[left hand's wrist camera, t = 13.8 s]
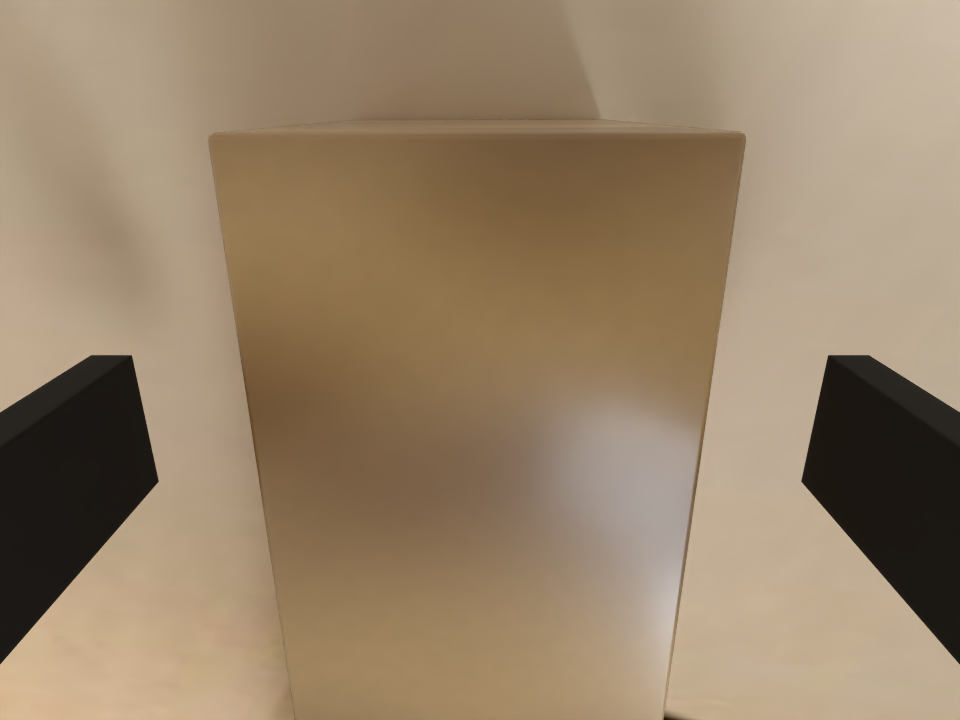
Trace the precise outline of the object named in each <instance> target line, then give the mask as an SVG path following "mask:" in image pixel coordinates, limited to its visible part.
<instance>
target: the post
mask: <svg viewBox="0 0 960 720" xmlns="http://www.w3.org/2000/svg"><path fill="white" fill-rule="evenodd" d="M208 143H209V149H210V156H211V163H212V169H213V176H214V183H215V189H216V196H217V203H218V209H219V216H220V223H221V229H222V236H223V243H224V249H225V256H226V263H227V269H228V276H229V283H230V289H231V296H232V303H233V309H234V316H235V323H236V329H237V336H238V343H239V349H240V356H241V362H242V369H243V376H244V382H245V389H246V396H247V402H248V409H249V416H250V422H251V429H252V436H253V442H254V449H255V456H256V462H257V469H258V476H259V482H260V489H261V496H262V502H263V509H264V516H265V522H266V529H267V536H268V542H269V549H270V556H271V562H272V569H273V576H274V582H275V589H276V596H277V602H278V609H279V616H280V622H281V629H282V636H283V642H284V649H285V656H286V662H287V669H288V676H289V682H290V689H291V696H292V702H293V709H294V716H295V720H663V718H664V711H665V704H666V697H667V690H668V683H669V676H670V669H671V662H672V655H673V648H674V641H675V634H676V627H677V620H678V613H679V606H680V599H681V592H682V585H683V578H684V571H685V564H686V557H687V550H688V543H689V536H690V529H691V522H692V515H693V508H694V501H695V494H696V487H697V480H698V473H699V466H700V459H701V451H702V444H703V437H704V430H705V423H706V416H707V409H708V402H709V395H710V388H711V381H712V374H713V367H714V360H715V353H716V346H717V339H718V332H719V325H720V318H721V311H722V304H723V297H724V290H725V283H726V276H727V269H728V262H729V255H730V248H731V241H732V234H733V227H734V220H735V213H736V206H737V199H738V192H739V185H740V178H741V171H742V164H743V157H744V150H745V143H746V137H745V134H744V133H742V132H739V131H727V130H715V129H704V128H692V127H681V126H669V125H658V124H646V123H635V122H623V121H611V120H350V121H339V122H328V123H317V124H307V125H296V126H285V127H274V128H263V129H252V130H241V131H230V132H219V133H213V134H211V135H210V136H209V140H208Z"/></svg>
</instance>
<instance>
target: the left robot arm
mask: <svg viewBox="0 0 960 720" xmlns="http://www.w3.org/2000/svg"><path fill="white" fill-rule="evenodd" d="M158 482H159V481H158V476H157V472H156V467H155V462H154V457H153V453H152V448H151V443H150V439H149V434H148V429H147V425H146V420H145V415H144V410H143V406H142V401H141V396H140V392H139V387H138V382H137V378H136V373H135V368H134V364H133V359H132V355H91V356H89V357H88V358H86V359H85V360H83V361H81V362H80V363H78V364H77V365H75V366H73V367H72V368H70V369H69V370H67V371H65V372H64V373H62V374H61V375H59V376H58V377H56V378H54V379H53V380H51V381H50V382H48V383H46V384H45V385H43V386H42V387H40V388H38V389H37V390H35V391H34V392H32V393H30V394H29V395H27V396H26V397H24V398H23V399H21V400H19V401H18V402H16V403H15V404H13V405H11V406H10V407H8V408H7V409H5V410H3V411H2V412H0V664H1V663H2V662H3V661H4V659H5V658H6V657H7V656H8V655H9V654H10V652H11V651H12V650H13V649H14V648H15V647H16V646H17V644H18V643H19V642H20V641H21V640H22V639H23V637H24V636H25V635H26V634H27V633H28V632H29V631H30V629H31V628H32V627H33V626H34V625H35V624H36V622H37V621H38V620H39V619H40V618H41V617H42V616H43V614H44V613H45V612H46V611H47V610H48V609H49V607H50V606H51V605H52V604H53V603H54V602H55V601H56V599H57V598H58V597H59V596H60V595H61V594H62V592H63V591H64V590H65V589H66V588H67V587H68V586H69V584H70V583H71V582H72V581H73V580H74V579H75V577H76V576H77V575H78V574H79V573H80V572H81V571H82V569H83V568H84V567H85V566H86V565H87V564H88V562H89V561H90V560H91V559H92V558H93V557H94V556H95V554H96V553H97V552H98V551H99V550H100V549H101V547H102V546H103V545H104V544H105V543H106V542H107V541H108V539H109V538H110V537H111V536H112V535H113V534H114V532H115V531H116V530H117V529H118V528H119V527H120V526H121V524H122V523H123V522H124V521H125V520H126V519H127V517H128V516H129V515H130V514H131V513H132V512H133V511H134V509H135V508H136V507H137V506H138V505H139V504H140V502H141V501H142V500H143V499H144V498H145V497H146V496H147V494H148V493H149V492H150V491H151V490H152V489H153V487H154V486H155V485H156V484H157V483H158ZM801 482H802V483H803V484H804V485H805V486H806V487H807V489H808V490H809V491H810V492H811V493H812V494H813V496H814V497H815V498H816V499H817V500H818V501H819V502H820V504H821V505H822V506H823V507H824V508H825V509H826V511H827V512H828V513H829V514H830V515H831V516H832V517H833V519H834V520H835V521H836V522H837V523H838V524H839V526H840V527H841V528H842V529H843V530H844V531H845V532H846V534H847V535H848V536H849V537H850V538H851V539H852V541H853V542H854V543H855V544H856V545H857V546H858V547H859V549H860V550H861V551H862V552H863V553H864V554H865V556H866V557H867V558H868V559H869V560H870V561H871V562H872V564H873V565H874V566H875V567H876V568H877V569H878V571H879V572H880V573H881V574H882V575H883V576H884V577H885V579H886V580H887V581H888V582H889V583H890V584H891V586H892V587H893V588H894V589H895V590H896V591H897V592H898V594H899V595H900V596H901V597H902V598H903V599H904V601H905V602H906V603H907V604H908V605H909V606H910V607H911V609H912V610H913V611H914V612H915V613H916V614H917V616H918V617H919V618H920V619H921V620H922V621H923V622H924V624H925V625H926V626H927V627H928V628H929V629H930V631H931V632H932V633H933V634H934V635H935V636H936V637H937V639H938V640H939V641H940V642H941V643H942V644H943V646H944V647H945V648H946V649H947V650H948V651H949V652H950V654H951V655H952V656H953V657H954V658H955V659H956V661H957V662H958V663H959V664H960V412H958V411H957V410H955V409H953V408H952V407H950V406H949V405H947V404H945V403H944V402H942V401H941V400H939V399H937V398H936V397H934V396H933V395H931V394H930V393H928V392H926V391H925V390H923V389H922V388H920V387H918V386H917V385H915V384H914V383H912V382H910V381H909V380H907V379H906V378H904V377H902V376H901V375H899V374H898V373H896V372H895V371H893V370H891V369H890V368H888V367H887V366H885V365H883V364H882V363H880V362H879V361H877V360H875V359H874V358H872V357H871V356H869V355H828V359H827V364H826V368H825V373H824V378H823V382H822V387H821V392H820V396H819V401H818V406H817V410H816V415H815V420H814V425H813V429H812V434H811V439H810V443H809V448H808V453H807V457H806V462H805V467H804V472H803V476H802V481H801Z"/></svg>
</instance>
